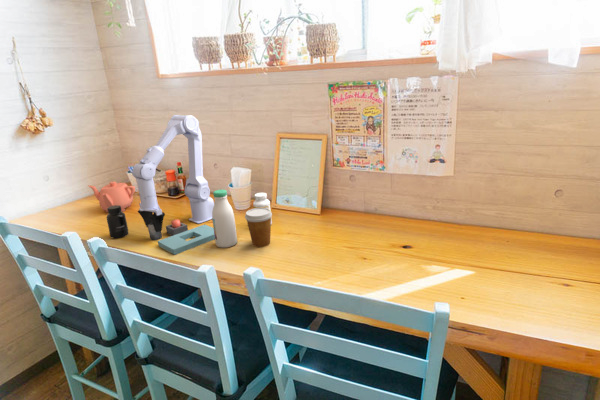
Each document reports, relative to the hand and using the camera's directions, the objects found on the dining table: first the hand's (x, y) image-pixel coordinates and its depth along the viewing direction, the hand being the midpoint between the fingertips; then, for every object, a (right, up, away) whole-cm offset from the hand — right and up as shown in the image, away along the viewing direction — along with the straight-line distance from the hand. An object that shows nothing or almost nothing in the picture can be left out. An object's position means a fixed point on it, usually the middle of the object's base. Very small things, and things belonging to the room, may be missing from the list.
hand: (154, 228), depth 156 cm
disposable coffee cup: (+42, -5, -10) cm, 43 cm away
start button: (+7, 0, +5) cm, 9 cm away
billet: (0, -4, +1) cm, 4 cm away
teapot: (-32, +6, +38) cm, 50 cm away
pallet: (+15, -4, -4) cm, 16 cm away
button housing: (+7, -2, +5) cm, 9 cm away
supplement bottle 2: (+41, +1, +7) cm, 42 cm away
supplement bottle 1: (-16, -3, +6) cm, 17 cm away
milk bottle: (+29, -5, -8) cm, 31 cm away
